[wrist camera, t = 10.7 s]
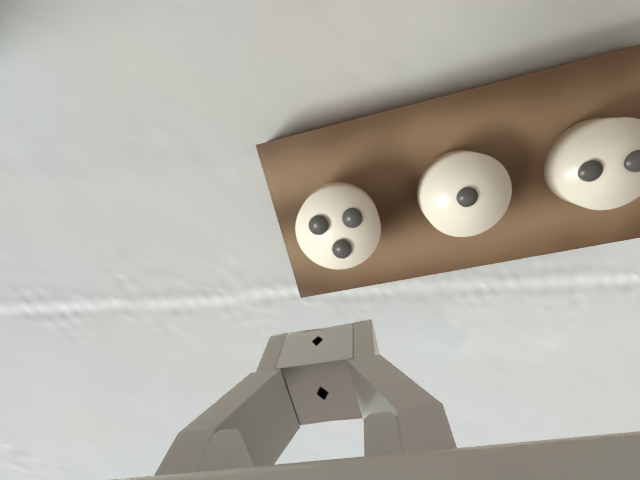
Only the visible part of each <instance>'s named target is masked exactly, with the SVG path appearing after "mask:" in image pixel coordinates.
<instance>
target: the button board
mask: <svg viewBox="0 0 640 480" xmlns="http://www.w3.org/2000/svg"><path fill="white" fill-rule="evenodd" d="M620 117H629V118H637V119H640V45H637V46H633V47H629V48H625V49H622V50H618V51H614V52H610V53H606V54H602V55H599V56H595V57H591V58H587V59H583V60H580V61H576V62H572V63H568V64H564V65H560V66H557V67H553V68H549V69H545V70H541V71H537V72H534V73H530V74H526V75H522V76H518V77H514V78H511V79H507V80H503V81H499V82H495V83H491V84H488V85H484V86H480V87H476V88H472V89H468V90H465V91H461V92H457V93H453V94H449V95H446V96H442V97H438V98H434V99H430V100H426V101H423V102H419V103H415V104H411V105H407V106H403V107H400V108H396V109H392V110H388V111H384V112H380V113H377V114H373V115H369V116H365V117H361V118H357V119H354V120H350V121H346V122H342V123H338V124H334V125H331V126H327V127H323V128H319V129H315V130H311V131H308V132H304V133H300V134H296V135H292V136H289V137H285V138H281V139H277V140H273V141H269V142H266V143H262V144H258V145H256V147H257V151H258V154H259V158H260V161H261V164H262V168H263V171H264V174H265V178H266V181H267V185H268V188H269V191H270V195H271V198H272V202H273V205H274V208H275V212H276V215H277V218H278V222H279V225H280V229H281V232H282V235H283V239H284V242H285V246H286V249H287V252H288V256H289V259H290V263H291V266H292V269H293V273H294V276H295V279H296V283H297V286H298V290H299V293H300V296H301V298H303V297H308V296H314V295H319V294H325V293H331V292H336V291H342V290H348V289H353V288H359V287H364V286H370V285H376V284H381V283H387V282H392V281H398V280H404V279H409V278H415V277H421V276H426V275H432V274H437V273H443V272H449V271H454V270H460V269H466V268H471V267H477V266H482V265H488V264H494V263H499V262H505V261H511V260H516V259H522V258H527V257H533V256H539V255H544V254H550V253H555V252H561V251H567V250H572V249H578V248H584V247H589V246H595V245H600V244H606V243H612V242H617V241H623V240H629V239H634V238H640V196H639V197H638V198H636V199H635V200H633V201H631V202H630V203H628V204H626V205H624V206H621V207H618V208H614V209H610V210H592V209H587V208H584V207H582V206H579V205H576V204H573V203H570V202H568V201H565V200H562V199H560V198H559V197H557V196H556V195H554V194H553V193H552V192H551V190H550V189H549V187H548V186H547V183H546V181H545V177H544V164H545V159H546V156H547V154H548V151H549V149H550V148H551V146H552V144H553V143H554V142H555V140H556V139H557V138H558V137H559V136H560V135H561V134H562V133H563V132H564V131H566V130H567V129H568V128H570V127H571V126H573V125H575V124H577V123H579V122H582V121H585V120H588V119H593V118H620ZM457 150H467V151H472V152H477V153H481V154H485V155H488V156H491V157H493V158H494V159H496V160H497V161H499V162H500V163H501V164H502V165H503V166H504V168H505V169H506V170H507V172H508V174H509V176H510V180H511V185H512V195H511V200H510V203H509V206H508V208H507V210H506V212H505V214H504V215H503V216H502V218H501V219H500V220H499V221H498V222H497V223H496V224H495V225H494V226H492V227H491V228H490V229H488V230H486V231H484V232H482V233H480V234H477V235H474V236H469V237H454V236H450V235H447V234H444V233H442V232H441V231H439V230H438V229H436V228H435V227H434V226H433V225H432V224H431V223H430V222H429V220H428V219H427V218H426V217H425V215H424V214H423V213H422V211H421V209H420V207H419V205H418V201H417V186H418V182H419V179H420V177H421V175H422V173H423V171H424V170H425V169H426V167H427V166H428V165H429V164H430V163H431V162H432V161H433V160H435V159H436V158H438V157H439V156H441V155H443V154H445V153H448V152H451V151H457ZM334 182H344V183H349V184H352V185H355V186H357V187H359V188H361V189H362V190H364V191H365V192H366V193H367V194H368V195H369V196H370V197H371V199H372V200H373V202H374V204H375V206H376V209H377V212H378V215H379V219H380V224H381V234H380V239H379V243H378V245H377V247H376V249H375V250H374V252H373V253H372V254H371V256H370V257H369V258H368V259H366V260H365V261H364V262H362V263H361V264H359V265H357V266H354V267H352V268H348V269H330V268H325V267H323V266H320V265H318V264H316V263H315V262H313V261H312V260H310V259H309V258H308V257H307V256H306V255H305V254H304V252H303V251H302V249H301V248H300V246H299V244H298V241H297V238H296V232H295V225H296V219H297V216H298V213H299V211H300V209H301V207H302V205H303V204H304V202H305V200H306V199H307V197H308V196H309V195H310V194H311V193H312V192H313V191H314V190H316V189H317V188H319V187H321V186H323V185H325V184H329V183H334Z"/></svg>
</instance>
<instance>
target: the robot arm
mask: <svg viewBox="0 0 640 480" xmlns="http://www.w3.org/2000/svg"><path fill="white" fill-rule="evenodd" d="M359 418H363V421H364V452H365V457H354V458H343V459H332V460H321V461H310V462H299V463H289V464H278V465H274V464H275V462H276V461H277V459H278V458H279V456H280V455H281V454H282V452H283V451H284V449H285V448H286V446H287V445H288V444H289V442H290V441H291V439H292V438H293V436H294V435H295V433H296V432H297V431H298V429H299V428H300V426H299V425H305V424H312V423H319V422H326V421H335V420H347V419H359ZM113 480H640V431H639V432H628V433H617V434H606V435H595V436H584V437H573V438H562V439H551V440H540V441H530V442H520V443H510V444H498V445H487V446H476V447H465V448H457V447H456V444H455V441H454V438H453V435H452V432H451V429H450V426H449V423H448V419H447V416H446V413H445V410H444V407H443V404H442V403H440V402H439V401H438V400H437V399H435V398H434V397H433V396H431V395H430V394H429V393H428V392H426V391H425V390H424V389H423V388H421V387H420V386H419V385H418V384H416V383H415V382H414V381H413V380H411V379H410V378H409V377H407V376H406V375H405V374H404V373H402V372H401V371H400V370H399V369H397V368H396V367H395V366H394V365H392V364H391V363H390V362H389V361H387V360H386V359H385V358H383V357H382V356H381V355H380V354H379V349H378V345H377V340H376V336H375V331H374V327H373V323H372V321H371V319H370V320H365V321H360V322H355V323H350V324H345V325H339V326H334V327H328V328H323V329H321V328H320V329H313V330H306V331H298V332H291V333H284V334H278V335H273V336H271V337H270V338H269V341H268V343H267V346H266V348H265V351H264V353H263V356H262V358H261V361H260V363H259V366H258V368H257V371H256V372H255V373H250V374H249V375H248V376H247V377H246V378H244V379H243V380H242V381H241V382H240V383H238V384H237V385H236V386H235V387H234V388H232V389H231V390H230V391H229V392H228V393H226V394H225V395H224V396H223V397H222V398H220V399H219V400H218V401H217V402H216V403H214V404H213V405H212V406H211V407H209V408H208V409H207V410H206V411H205V412H203V413H202V414H201V415H200V416H199V417H197V418H196V419H195V420H194V421H193V422H191V423H190V424H189V425H188V426H187V427H185V428H184V429H183V430H182V431H181V432H179V433H178V435H177V436H176V438H175V440H174V442H173V443H172V445H171V447H170V449H169V450H168V452H167V454H166V456H165V457H164V459H163V461H162V463H161V464H160V466H159V468H158V470H157V471H156V473H155V475H154V476H147V477H136V478H124V479H113Z"/></svg>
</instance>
